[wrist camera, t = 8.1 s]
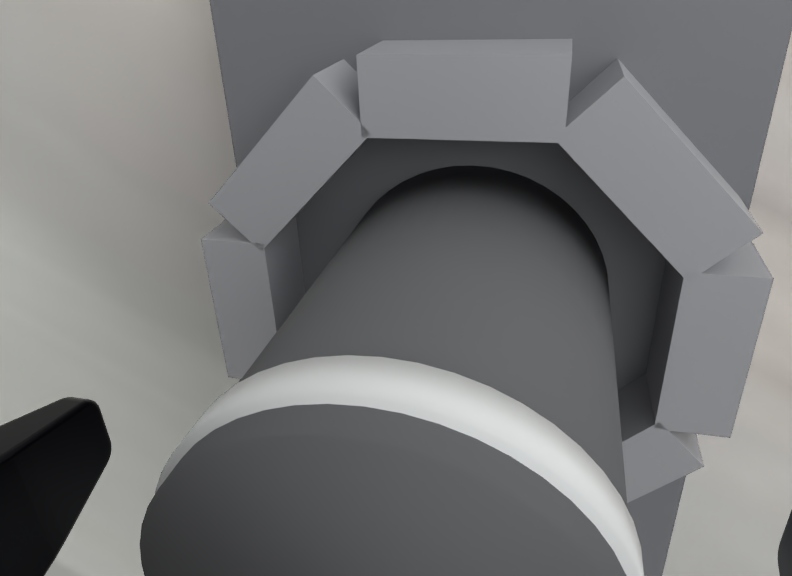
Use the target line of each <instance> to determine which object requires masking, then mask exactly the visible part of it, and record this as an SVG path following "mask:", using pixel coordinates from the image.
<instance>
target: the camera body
mask: <svg viewBox="0 0 792 576" xmlns="http://www.w3.org/2000/svg"><path fill="white" fill-rule="evenodd" d="M210 6H211V12H212V18H213V25H214V31H215V37H216V43H217V49H218V55H219V62H220V68H221V74H222V80H223V86H224V93H225V99H226V105H227V111H228V117H229V124H230V130H231V136H232V142H233V148H234V155H235V161H236V167H237V169H236V170H235V171H234V173H233V174H232V175H231V176H230V178H229V179H228V180H227V181H226V183H225V184H224V185H223V186H222V187H221V189H220V190H219V191H218V192H217V194H216V195H215V196H214V197H213V198H212V200H211V201H210V202H209V204H210V205H211V206H212V207H213V208H214V209H215V210H216V211H217V212H219V213H220V214H221V215H222V216H223V217H224V218H225V219H226V220H224V221H223V222H222V223H221V224H219V225H218V226H217V227H216V228H214V229H213V230H212V231H211V232H209V233H208V234H207V235H206V236H205V237H203V238H202V239H201V242H202V247H203V252H204V257H205V262H206V267H207V272H208V277H209V282H210V287H211V292H212V297H213V302H214V307H215V312H216V317H217V322H218V327H219V332H220V337H221V342H222V347H223V352H224V357H225V362H226V367H227V372H228V377H232V378H240V379H242V377H243V376H244V375H245V373H246V372H247V371H248V369H249V368H250V367H251V365H252V364H253V363H254V361H255V360H256V359H257V357H258V356H259V355H260V353H261V352H262V351H263V349H264V348H265V347H266V345H267V344H268V343H269V341H270V340H271V339H272V338H273V336H274V335H275V334H276V332H277V331H278V330H279V328H280V327H281V326H282V324H283V323H284V322H285V320H286V319H287V318H288V316H289V315H290V314H291V312H292V311H293V310H294V308H295V307H296V306H297V304H298V303H299V302H300V300H301V299H302V298H303V296H304V295H305V294H306V292H307V291H308V290H309V288H310V287H311V286H312V284H313V283H314V282H315V280H316V279H317V278H318V277H319V275H320V274H321V273H322V271H323V270H324V269H325V267H326V266H327V265H328V263H329V262H330V261H331V259H332V258H333V257H334V255H335V254H336V253H337V251H338V250H339V249H340V247H341V246H342V245H343V243H344V242H345V241H346V239H347V238H348V237H349V235H350V234H351V233H352V231H353V230H354V229H355V227H356V226H357V225H358V223H359V222H360V221H361V220H362V218H363V217H364V216H365V214H366V213H367V212H368V211H369V209H370V208H371V207H372V206H373V205H374V204H375V202H376V201H377V200H378V199H380V198H381V197H382V196H383V195H384V194H385V193H387V192H388V191H389V190H390V189H392V188H394V187H395V186H397V185H398V184H400V183H401V182H403V181H405V180H407V179H409V178H412V177H414V176H416V175H418V174H421V173H424V172H428V171H431V170H434V169H439V168H445V167H451V166H472V165H473V166H484V167H493V168H497V169H502V170H506V171H510V172H513V173H516V174H519V175H522V176H524V177H527V178H529V179H531V180H533V181H535V182H537V183H539V184H541V185H543V186H545V187H547V188H548V189H550V190H551V191H552V192H554V193H555V194H557V195H558V196H560V197H561V198H562V199H563V200H564V201H566V202H567V203H568V204H569V205H570V206H571V207H572V208H573V209H574V210H575V211H576V212H577V213H578V214H579V215H580V217H581V218H582V219H583V220H584V221H585V223H586V224H587V225H588V227H589V229H590V230H591V232H592V233H593V235H594V237H595V238H596V240H597V243H598V245H599V247H600V249H601V252H602V254H603V257H604V261H605V265H606V269H607V275H608V284H609V295H610V307H611V319H612V331H613V342H614V354H615V366H616V378H617V389H618V401H619V413H620V425H621V437H622V448H623V460H624V472H625V484H626V496H627V507H628V511H629V513H630V515H631V517H632V519H633V521H634V525H635V528H636V531H637V535H638V538H639V541H640V545H641V551H642V561H643V571H644V576H662V573H663V569H664V565H665V561H666V556H667V552H668V548H669V544H670V540H671V535H672V531H673V527H674V523H675V519H676V514H677V510H678V506H679V502H680V498H681V493H682V489H683V485H684V481H685V477H686V475H687V474H689V473H691V472H693V471H695V470H698V469H700V468H702V467H704V465H703V461H702V456H701V452H700V448H699V444H698V440H697V436H696V434H703V435H711V436H719V437H728V438H730V437H731V433H732V430H733V426H734V422H735V419H736V415H737V411H738V408H739V404H740V400H741V397H742V393H743V389H744V386H745V382H746V378H747V374H748V371H749V367H750V363H751V360H752V356H753V352H754V349H755V345H756V341H757V338H758V334H759V330H760V327H761V323H762V319H763V316H764V312H765V308H766V305H767V301H768V297H769V294H770V290H771V286H772V283H773V279H774V278H773V277H772V275H771V273H770V272H769V270H768V268H767V266H766V265H765V263H764V261H763V260H762V258H761V256H760V255H759V253H758V251H757V250H756V248H755V246H754V244H753V243H752V240H753V239H755V238H757V237H758V236H760V235H761V234H763V232H762V231H761V229H760V228H759V226H758V225H757V223H756V221H755V220H754V218H753V217H752V215H751V214H750V212H749V208H750V203H751V199H752V195H753V191H754V187H755V182H756V178H757V174H758V170H759V166H760V161H761V157H762V153H763V149H764V145H765V140H766V136H767V132H768V128H769V124H770V119H771V115H772V111H773V107H774V103H775V98H776V94H777V90H778V86H779V82H780V77H781V73H782V69H783V65H784V61H785V56H786V52H787V48H788V44H789V39H790V35H791V31H792V0H210Z"/></svg>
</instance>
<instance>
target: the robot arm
mask: <svg viewBox="0 0 792 576" xmlns="http://www.w3.org/2000/svg"><path fill="white" fill-rule="evenodd" d="M110 455H111V441H110V438H109V435H108V432H107V429H106V426H105V423H104V420H103V417H102V414H101V410H100V408H99V406H98V405H97V404H96V402H95V401H92V400H89V399H82V398H74V397H67V398H63V399H60V400H58V401H56V402H54V403H51V404H49V405H47V406H44V407H42V408H40V409H38V410H35V411H33V412H31V413H29V414H26V415H24V416H22V417H20V418H17V419H15V420H13V421H10V422H8V423H6V424H4V425H1V426H0V576H44V575H45V574H46V572H47V570H48V569H49V567H50V566H51V564H52V563H53V561H54V560H55V558H56V556H57V555H58V553H59V551H60V549H61V548H62V546H63V544H64V542H65V541H66V539H67V537H68V535H69V533H70V531H71V529H72V528H73V526H74V524H75V522H76V520H77V518H78V517H79V515H80V513H81V511H82V509H83V507H84V505H85V504H86V502H87V500H88V498H89V496H90V494H91V492H92V491H93V489H94V487H95V485H96V483H97V481H98V480H99V478H100V476H101V474H102V472H103V470H104V468H105V467H106V465H107V463H108V461H109V458H110ZM778 566H779V573H780V576H792V511H791V513H790V516H789V519H788V522H787V525H786V527H785V530H784V533H783V536H782V539H781V541H780V545H779V550H778Z"/></svg>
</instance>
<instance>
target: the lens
mask: <svg viewBox="0 0 792 576" xmlns="http://www.w3.org/2000/svg"><path fill="white" fill-rule="evenodd" d="M140 551H141V562H142V567H143V571H144V575H145V576H644V571H643V561H642V551H641V545H640V541H639V538H638V535H637V531H636V528H635V525H634V521H633V519H632V517H631V515H630V513H629V511H628V507H627V496H626V484H625V472H624V460H623V448H622V437H621V425H620V413H619V401H618V389H617V378H616V366H615V354H614V342H613V331H612V319H611V307H610V295H609V284H608V275H607V269H606V265H605V261H604V257H603V254H602V252H601V249H600V247H599V245H598V243H597V240H596V238H595V237H594V235H593V233H592V232H591V230H590V229H589V227H588V225H587V224H586V223H585V221H584V220H583V219H582V218H581V217H580V215H579V214H578V213H577V212H576V211H575V210H574V209H573V208H572V207H571V206H570V205H569V204H568V203H567V202H566V201H564V200H563V199H562V198H561V197H560V196H558V195H557V194H555V193H554V192H552V191H551V190H550V189H548V188H547V187H545V186H543V185H541V184H539V183H537V182H535V181H533V180H531V179H529V178H527V177H524V176H522V175H519V174H516V173H513V172H510V171H506V170H502V169H497V168H493V167H484V166H473V165H472V166H451V167H445V168H439V169H434V170H431V171H428V172H424V173H421V174H418V175H416V176H414V177H412V178H409V179H407V180H405V181H403V182H401V183H400V184H398V185H397V186H395V187H394V188H392V189H390V190H389V191H388V192H387V193H385V194H384V195H383V196H382V197H381V198H380V199H378V200H377V201H376V202H375V204H374V205H373V206H372V207H371V208H370V209H369V211H368V212H367V213H366V214H365V216H364V217H363V218H362V220H361V221H360V222H359V223H358V225H357V226H356V227H355V229H354V230H353V231H352V233H351V234H350V235H349V237H348V238H347V239H346V241H345V242H344V243H343V245H342V246H341V247H340V249H339V250H338V251H337V253H336V254H335V255H334V257H333V258H332V259H331V261H330V262H329V263H328V265H327V266H326V267H325V269H324V270H323V271H322V273H321V274H320V275H319V277H318V278H317V279H316V280H315V282H314V283H313V284H312V286H311V287H310V288H309V290H308V291H307V292H306V294H305V295H304V296H303V298H302V299H301V300H300V302H299V303H298V304H297V306H296V307H295V308H294V310H293V311H292V312H291V314H290V315H289V316H288V318H287V319H286V320H285V322H284V323H283V324H282V326H281V327H280V328H279V330H278V331H277V332H276V334H275V335H274V336H273V338H272V339H271V340H270V341H269V343H268V344H267V345H266V347H265V348H264V349H263V351H262V352H261V353H260V355H259V356H258V357H257V359H256V360H255V361H254V363H253V364H252V365H251V367H250V368H249V369H248V371H247V372H246V373H245V375H244V376H243V377H242V379H241V380H240V381H239V383H237V384H235V385H234V386H233V387H231V388H230V389H229V390H227V391H226V392H225V393H224V394H222V395H221V396H220V397H218V398H217V399H216V400H215V401H214V402H213V404H212V405H211V406H210V407H209V408H208V409H207V410H206V411H205V413H204V414H203V415H202V416H201V417H200V419H199V420H198V421H197V423H196V424H195V425H194V426H193V428H192V429H191V430H190V431H189V433H188V434H187V435H186V437H185V438H184V439H183V440H182V442H181V443H180V444H179V446H178V447H177V448H176V449H175V451H174V452H173V453H172V455H171V457H170V458H169V460H168V462H167V464H166V465H165V467H164V469H163V470H162V472H161V475H160V478H159V482H158V485H157V488H156V491H155V495H154V497H153V499H152V500H151V502H150V504H149V506H148V508H147V511H146V514H145V517H144V520H143V523H142V528H141V539H140Z"/></svg>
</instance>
